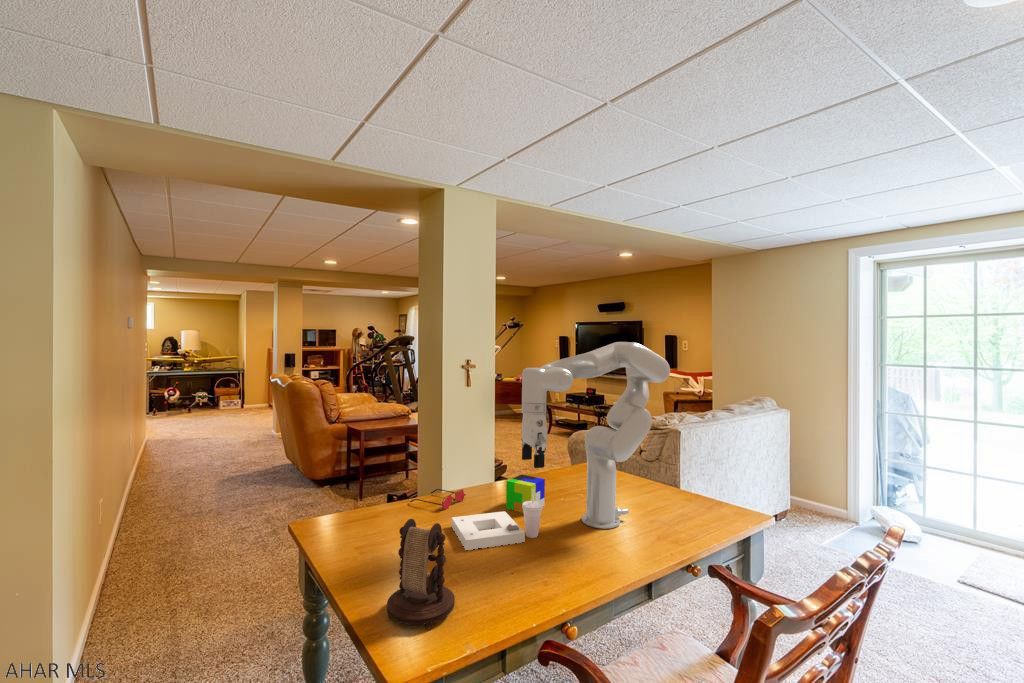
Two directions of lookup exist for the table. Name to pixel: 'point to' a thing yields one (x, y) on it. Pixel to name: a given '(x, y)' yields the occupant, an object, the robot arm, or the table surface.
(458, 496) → the glasses
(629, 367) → the robot arm
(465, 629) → the table surface
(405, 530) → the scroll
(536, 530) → the smoothie
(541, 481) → the puzzle toy
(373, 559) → the table surface
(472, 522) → the socket plate
